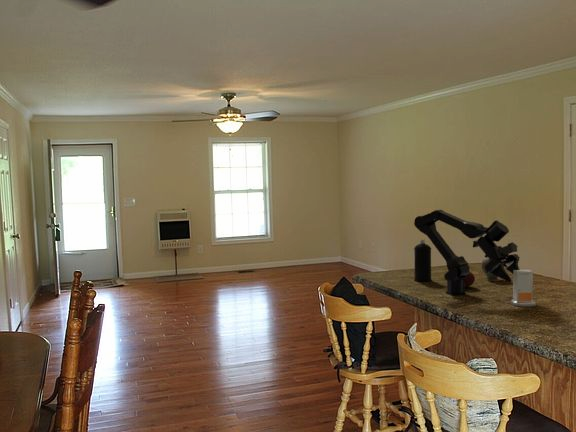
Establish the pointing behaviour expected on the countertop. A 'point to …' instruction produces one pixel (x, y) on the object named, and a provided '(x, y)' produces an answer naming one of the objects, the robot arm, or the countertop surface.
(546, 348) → the countertop surface
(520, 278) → the skincare box
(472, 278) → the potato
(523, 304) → the silver round plate
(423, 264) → the aerosol can
